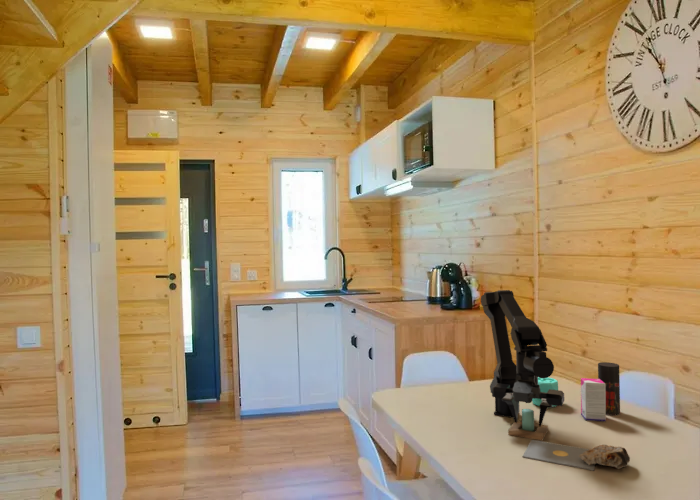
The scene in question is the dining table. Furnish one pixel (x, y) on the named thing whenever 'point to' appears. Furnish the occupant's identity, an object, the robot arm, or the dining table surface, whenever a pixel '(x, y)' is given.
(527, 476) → the dining table surface
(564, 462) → the card
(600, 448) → the rock
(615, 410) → the deodorant
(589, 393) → the supplement box
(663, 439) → the dining table surface
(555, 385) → the decorative dice
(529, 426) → the peg
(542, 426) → the brown square frame
